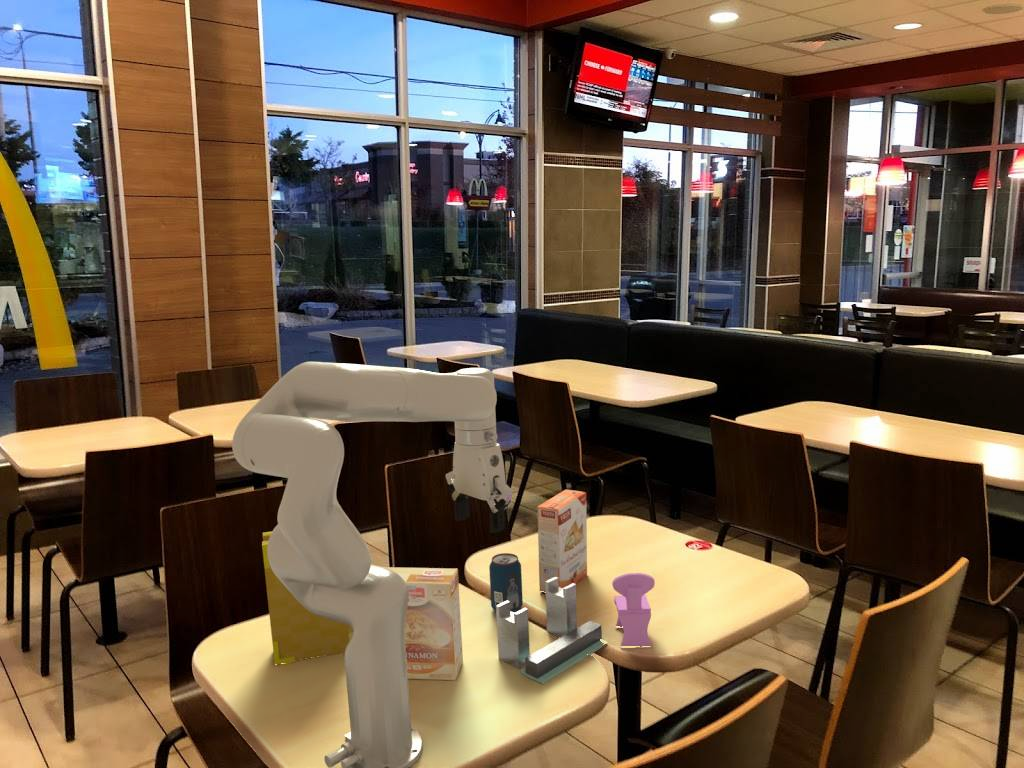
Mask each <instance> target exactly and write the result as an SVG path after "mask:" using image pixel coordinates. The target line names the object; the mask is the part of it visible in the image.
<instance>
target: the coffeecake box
mask: <svg viewBox="0 0 1024 768" xmlns="http://www.w3.org/2000/svg"><path fill="white" fill-rule="evenodd" d="M383 567H384V568H387V569H390V570H392V571H394V572H396V573H397V574H399V575H400V576H401V577H402V578H403V580H404V581H405V583H406V585H407V587H408V595H409V599H408V608H407V615H406V624H405V646H406V661H407V674H408V680H437V681H438V680H439V681H456V680H457V678H458V675H459V672H460V670H461V668H462V664H463V662H464V658H463V657H464V654H463V639H462V636H463V635H462V620H461V603H460V588H459V587H460V585H459V584H460V583H459V569H458V568H443V567H441V568H440V567H438V568H437V567H436V568H435V567H431V568H430V567H395V566H391V567H390V566H387V567H386V566H383Z"/></svg>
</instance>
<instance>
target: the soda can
mask: <svg viewBox="0 0 1024 768" xmlns="http://www.w3.org/2000/svg"><path fill="white" fill-rule="evenodd" d="M522 576H523V574H522V565H521V562H520V560H519V557H518V555H516V554H514V553H508V552H507V553H505V552H504V553H498V554H495V555H493V556H492V558H491V561H490V564H489V590H490V606H491V609H492V610H493V611H494V612H495V614H496V606H497V605H499V604H501V603H503V602H505V601H507V600H508V601H510V611H511V612H514V613H515V612H517V611H519V610H521V609H522V607H523V605H524V603H523V581H522V580H523V579H522V578H523V577H522Z"/></svg>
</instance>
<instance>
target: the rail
mask: <svg viewBox="0 0 1024 768" xmlns="http://www.w3.org/2000/svg"><path fill="white" fill-rule="evenodd" d="M602 626H603V625H601V624H599V623H596V622H594V621H592V620H588V621H587V622H585V623H583V624H581V625H580V626H577V628H576V629H575V630H573V631H571V632H569V633H568V634H566V635H564V636H562V637H559V638H558V639H555V640H553V641H551V643H548V644H547V645H545V646H544V647H542V648H540V649H538V650H536V651H535V652H533V653H532V654H530V656H528V657H526V658H525V665H524V668H525V673H526V674H528V675H531V676H533V677H535V678H537V679H538V678H539V677H541V676H543V675H544V674H546V673H548V672H549V671H551V670H552V669H554V668H556V667H557V666H559V665H561V664H562V663H564V662H566V661H567V660H569V659H570V658H572V657H574V656H575V655H577V654H579V653H580V652H582V651H583V650H585V649H587V648H588V647H590V646H592V645H593V644H595V643H596V642H598V641H600V639H603V636H602V634H603V632H602V631H603V629H602Z"/></svg>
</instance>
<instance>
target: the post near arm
mask: <svg viewBox="0 0 1024 768" xmlns="http://www.w3.org/2000/svg"><path fill="white" fill-rule="evenodd" d="M495 614H496V633H497V636H496V637H497V650H498V651H497V652H498V653H497V654H498V659H499V660H501V661H504V662H505V663H508V664H509V665H511V666H513V667H515V668H517V669H520V668H522V667H525V658H526V657H528V656H530V655H531V654H530V653H531V652H530V651H531V650H530V648H531V647H530V624H529V609H528V608H527V607H523V608H521V609H520V610H519V611H517V612H515V613H514V612H511V611H510V601H508V600H507V601H505V602H503V603H501V604H499V605H497V606H496V613H495Z"/></svg>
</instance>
